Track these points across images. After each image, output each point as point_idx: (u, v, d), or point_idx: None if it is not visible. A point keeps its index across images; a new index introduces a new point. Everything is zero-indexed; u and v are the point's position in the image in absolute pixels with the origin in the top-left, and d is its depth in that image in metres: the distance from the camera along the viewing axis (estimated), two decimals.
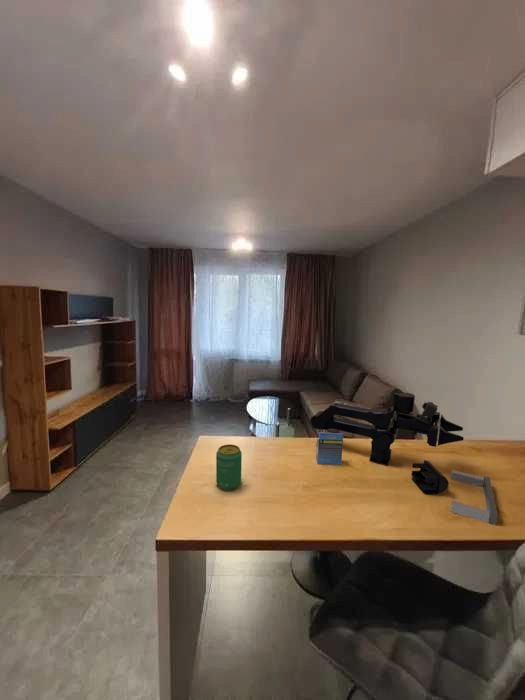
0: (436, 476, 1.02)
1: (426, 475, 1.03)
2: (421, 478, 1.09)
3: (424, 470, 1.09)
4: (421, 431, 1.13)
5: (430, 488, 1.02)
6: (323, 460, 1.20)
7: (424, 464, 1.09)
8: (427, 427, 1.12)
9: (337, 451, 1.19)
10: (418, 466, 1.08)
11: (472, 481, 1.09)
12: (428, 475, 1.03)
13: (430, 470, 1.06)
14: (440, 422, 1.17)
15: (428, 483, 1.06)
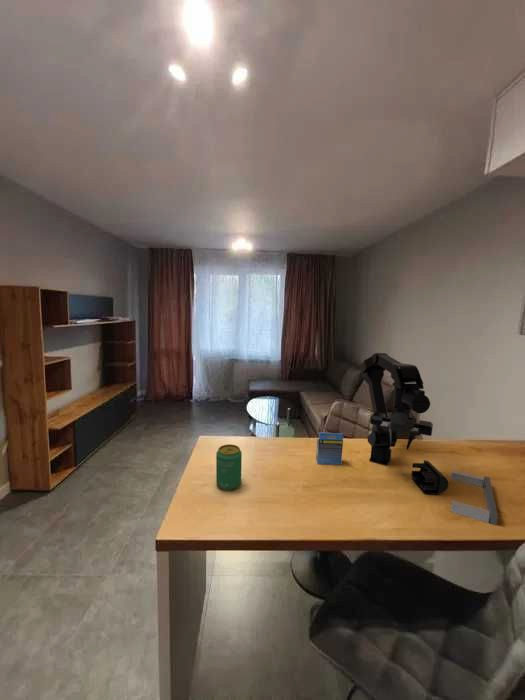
0: (436, 476, 1.02)
1: (426, 475, 1.03)
2: (421, 478, 1.09)
3: (424, 470, 1.09)
4: None
5: (430, 488, 1.02)
6: (323, 460, 1.20)
7: (424, 464, 1.09)
8: None
9: (337, 451, 1.19)
10: (418, 466, 1.08)
11: (472, 481, 1.09)
12: (428, 475, 1.03)
13: (430, 470, 1.06)
14: (411, 430, 1.07)
15: (428, 483, 1.06)
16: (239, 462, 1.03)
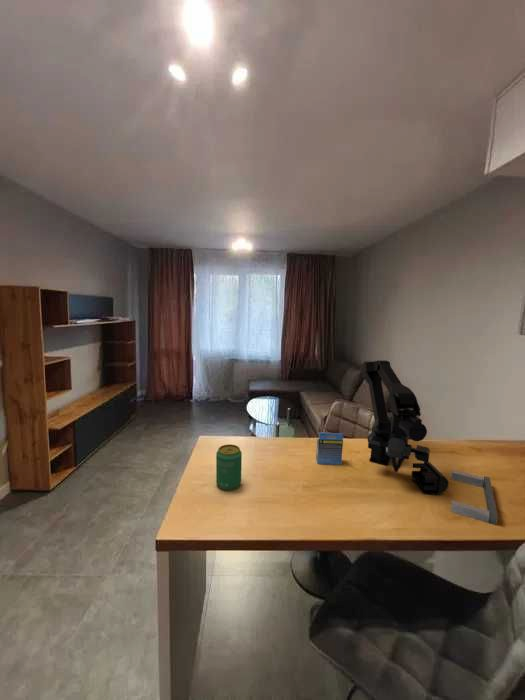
0: (436, 476, 1.02)
1: (426, 475, 1.03)
2: (421, 478, 1.09)
3: (424, 470, 1.09)
4: None
5: (430, 488, 1.02)
6: (323, 460, 1.20)
7: (424, 464, 1.09)
8: None
9: (337, 451, 1.19)
10: (418, 466, 1.08)
11: (472, 481, 1.09)
12: (428, 475, 1.03)
13: (430, 470, 1.06)
14: None
15: (428, 483, 1.06)
16: (239, 462, 1.03)
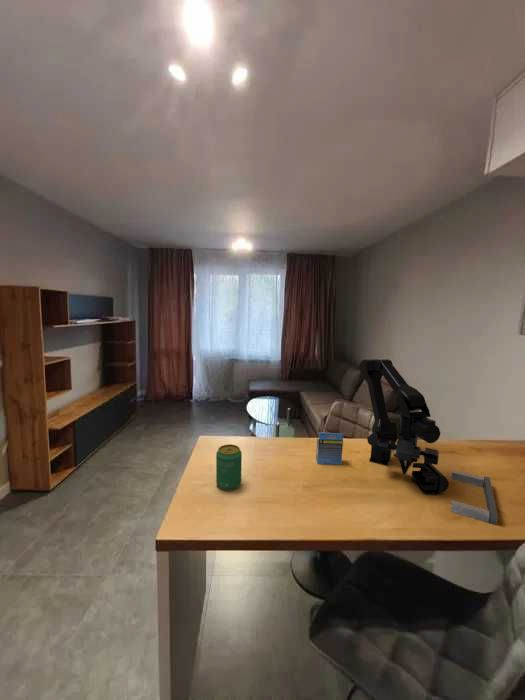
0: (437, 476, 1.02)
1: (426, 475, 1.03)
2: (421, 478, 1.09)
3: (424, 470, 1.09)
4: None
5: (430, 488, 1.02)
6: (323, 460, 1.20)
7: (424, 464, 1.09)
8: None
9: (337, 451, 1.19)
10: (418, 466, 1.08)
11: (472, 481, 1.09)
12: (428, 475, 1.03)
13: (430, 470, 1.06)
14: None
15: (428, 483, 1.06)
16: (239, 462, 1.03)
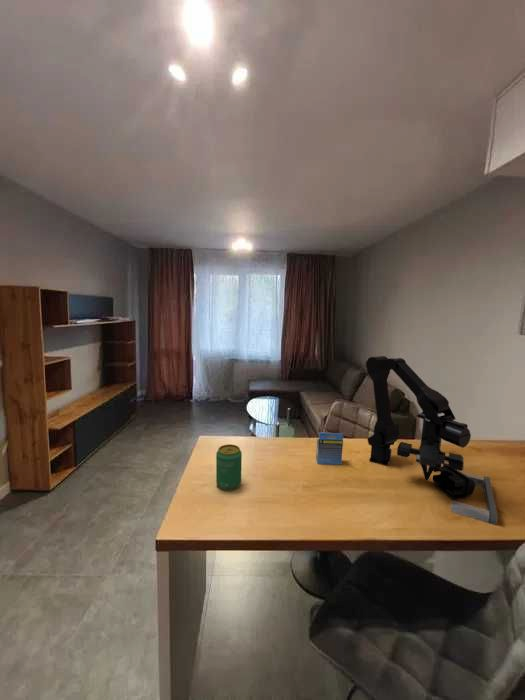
0: (464, 480, 1.00)
1: (455, 479, 1.00)
2: (443, 482, 1.07)
3: (446, 473, 1.07)
4: None
5: (459, 492, 1.00)
6: (323, 460, 1.20)
7: (445, 467, 1.07)
8: None
9: (337, 451, 1.19)
10: (442, 470, 1.05)
11: None
12: (457, 479, 1.00)
13: (455, 473, 1.04)
14: None
15: (453, 487, 1.04)
16: (239, 462, 1.03)
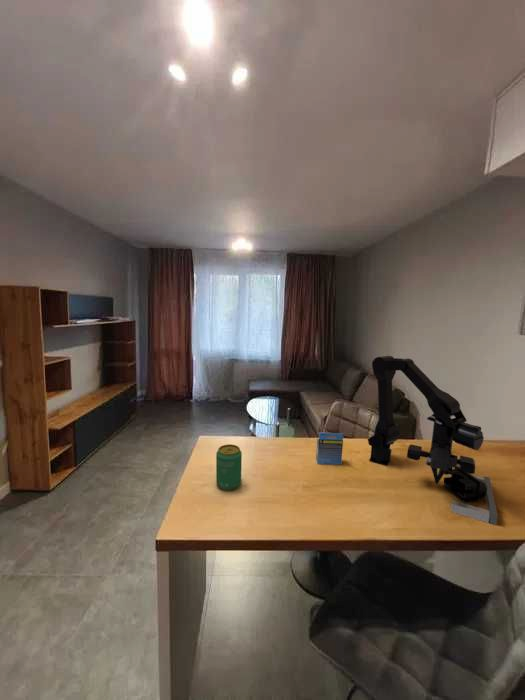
0: (476, 483, 0.99)
1: (466, 482, 0.99)
2: (455, 485, 1.05)
3: (457, 476, 1.06)
4: None
5: (470, 496, 0.99)
6: (323, 460, 1.20)
7: (457, 470, 1.06)
8: None
9: (337, 451, 1.19)
10: (452, 473, 1.04)
11: None
12: (467, 482, 0.99)
13: (466, 476, 1.02)
14: None
15: (464, 490, 1.03)
16: (239, 462, 1.03)
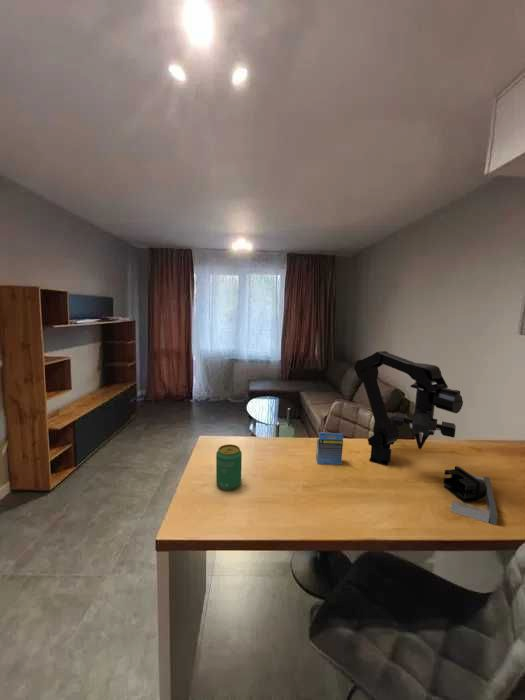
0: (476, 483, 0.99)
1: (466, 483, 0.99)
2: (455, 485, 1.05)
3: (457, 476, 1.06)
4: None
5: (470, 496, 0.99)
6: (323, 460, 1.20)
7: (457, 470, 1.06)
8: None
9: (337, 451, 1.19)
10: (452, 473, 1.04)
11: None
12: (467, 483, 0.99)
13: (466, 477, 1.02)
14: None
15: (464, 490, 1.03)
16: (239, 462, 1.03)
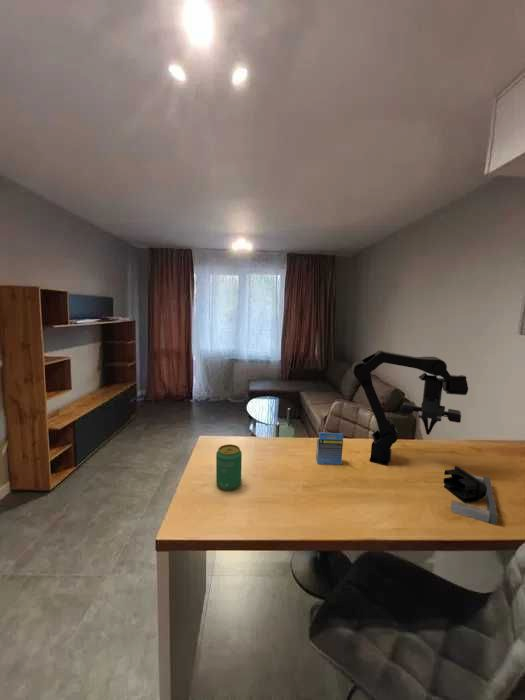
0: (475, 483, 0.99)
1: (466, 483, 0.99)
2: (455, 485, 1.05)
3: (457, 476, 1.06)
4: None
5: (470, 496, 0.99)
6: (323, 460, 1.20)
7: (457, 470, 1.06)
8: None
9: (337, 451, 1.19)
10: (452, 473, 1.04)
11: None
12: (467, 483, 0.99)
13: (466, 477, 1.02)
14: None
15: (464, 490, 1.03)
16: (239, 462, 1.03)
